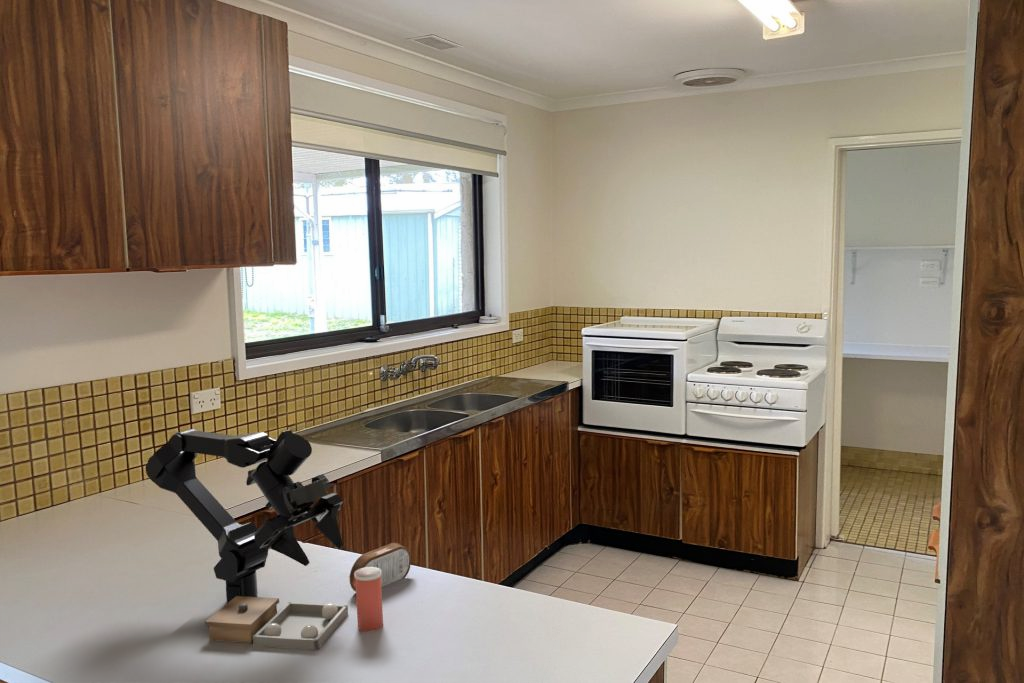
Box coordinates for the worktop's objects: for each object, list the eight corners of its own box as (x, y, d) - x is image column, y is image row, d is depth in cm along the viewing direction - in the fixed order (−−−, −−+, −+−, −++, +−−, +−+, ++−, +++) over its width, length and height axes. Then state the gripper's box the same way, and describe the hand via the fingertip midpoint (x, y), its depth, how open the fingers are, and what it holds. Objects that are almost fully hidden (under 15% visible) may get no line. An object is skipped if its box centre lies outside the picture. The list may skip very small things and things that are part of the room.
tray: (289, 614, 154) (288, 602, 154) (348, 617, 152) (347, 605, 151) (253, 650, 140) (252, 636, 140) (317, 654, 138) (316, 640, 138)
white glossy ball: (305, 637, 142) (304, 621, 142) (321, 638, 142) (320, 622, 142) (298, 645, 140) (297, 629, 139) (314, 646, 139) (313, 630, 139)
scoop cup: (362, 622, 149) (360, 566, 148) (387, 624, 149) (385, 567, 147) (353, 635, 145) (350, 577, 143) (378, 636, 144) (376, 578, 143)
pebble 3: (326, 615, 151) (325, 599, 151) (341, 615, 151) (340, 600, 150) (319, 622, 148) (318, 606, 148) (334, 623, 148) (333, 607, 147)
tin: (404, 574, 172) (402, 537, 171) (414, 578, 170) (412, 540, 169) (349, 599, 160) (347, 558, 159) (359, 603, 158) (357, 562, 157)
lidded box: (237, 617, 153) (236, 591, 152) (280, 620, 151) (278, 593, 151) (206, 645, 142) (204, 616, 142) (252, 648, 141) (250, 619, 140)
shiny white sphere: (269, 635, 144) (268, 619, 143) (285, 636, 143) (283, 620, 143) (261, 643, 141) (260, 627, 140) (277, 644, 140) (276, 628, 140)
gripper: (263, 477, 140) (312, 549, 136) (334, 452, 156) (380, 516, 152) (233, 512, 145) (280, 583, 141) (305, 485, 161) (348, 547, 157)
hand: (325, 555), depth 148 cm, fingers open, 9 cm apart
